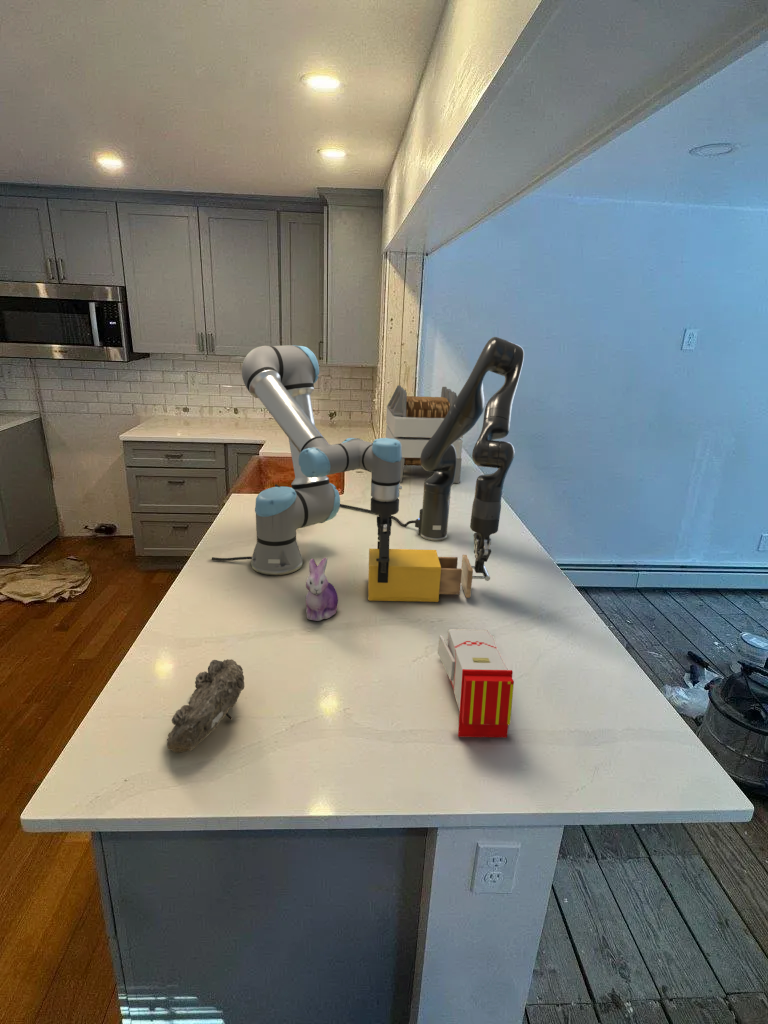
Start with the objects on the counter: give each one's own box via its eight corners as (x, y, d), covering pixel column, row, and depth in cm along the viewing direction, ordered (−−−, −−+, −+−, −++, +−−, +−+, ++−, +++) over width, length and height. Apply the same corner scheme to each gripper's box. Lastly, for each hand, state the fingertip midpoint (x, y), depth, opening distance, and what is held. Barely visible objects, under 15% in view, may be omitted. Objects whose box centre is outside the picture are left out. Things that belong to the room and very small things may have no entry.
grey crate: (382, 463, 289) (386, 382, 275) (445, 464, 293) (451, 384, 279) (390, 482, 257) (394, 392, 243) (460, 483, 261) (468, 394, 247)
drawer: (482, 581, 165) (484, 555, 162) (489, 598, 155) (492, 570, 152) (403, 579, 164) (404, 553, 161) (405, 596, 154) (407, 569, 151)
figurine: (311, 626, 140) (311, 571, 135) (297, 607, 148) (296, 554, 143) (346, 618, 144) (347, 564, 139) (330, 600, 152) (331, 549, 147)
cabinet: (433, 582, 165) (436, 549, 162) (438, 601, 154) (441, 567, 151) (368, 581, 164) (369, 548, 161) (368, 600, 154) (369, 565, 150)
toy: (488, 613, 130) (523, 677, 101) (484, 667, 133) (517, 744, 104) (435, 612, 130) (455, 676, 101) (432, 666, 133) (451, 743, 103)
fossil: (192, 660, 117) (244, 628, 112) (224, 691, 120) (276, 661, 115) (142, 746, 98) (202, 712, 93) (182, 779, 101) (242, 748, 96)
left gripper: (401, 513, 139) (397, 592, 146) (397, 484, 161) (393, 554, 168) (371, 512, 138) (368, 592, 146) (370, 483, 161) (368, 554, 168)
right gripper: (505, 523, 146) (496, 583, 152) (494, 505, 158) (487, 562, 164) (476, 522, 146) (468, 582, 152) (468, 504, 158) (461, 561, 164)
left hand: (382, 572), depth 157 cm, fingers closed on cabinet, 11 cm apart
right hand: (478, 571), depth 158 cm, fingers closed
